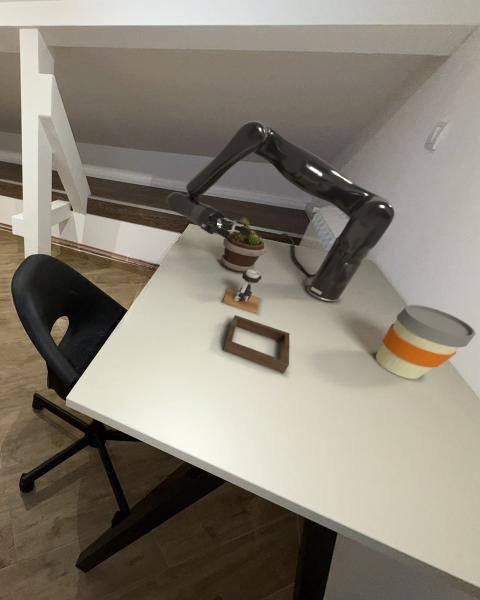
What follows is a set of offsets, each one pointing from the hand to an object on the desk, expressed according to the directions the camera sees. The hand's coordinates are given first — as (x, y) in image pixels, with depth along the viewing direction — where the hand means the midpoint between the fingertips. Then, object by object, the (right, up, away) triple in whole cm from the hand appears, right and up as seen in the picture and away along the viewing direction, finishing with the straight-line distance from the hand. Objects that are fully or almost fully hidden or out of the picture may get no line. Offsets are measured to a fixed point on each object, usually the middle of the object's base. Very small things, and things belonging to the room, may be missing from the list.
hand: (239, 234), depth 98 cm
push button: (+2, -21, +3) cm, 21 cm away
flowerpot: (+10, -8, +23) cm, 27 cm away
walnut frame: (-4, -33, -16) cm, 37 cm away
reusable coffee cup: (+31, -38, -18) cm, 52 cm away
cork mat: (+2, -21, +3) cm, 21 cm away
